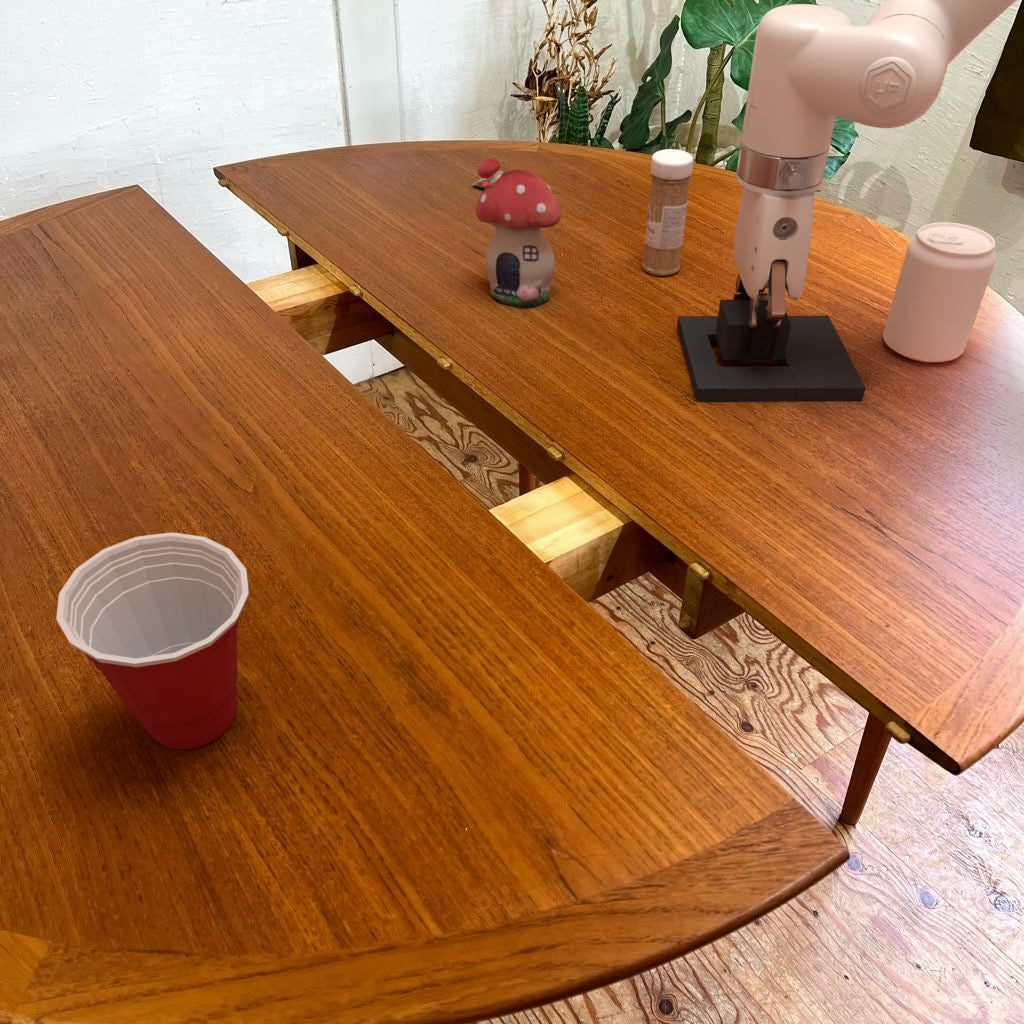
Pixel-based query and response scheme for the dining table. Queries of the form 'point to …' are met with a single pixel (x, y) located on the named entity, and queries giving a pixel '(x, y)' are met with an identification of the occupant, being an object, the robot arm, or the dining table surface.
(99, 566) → the plastic cup
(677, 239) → the sprinkles bottle
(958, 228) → the beverage can
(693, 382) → the base pad
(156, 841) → the dining table surface
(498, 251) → the decorative ornament
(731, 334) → the small black block
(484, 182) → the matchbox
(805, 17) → the robot arm
